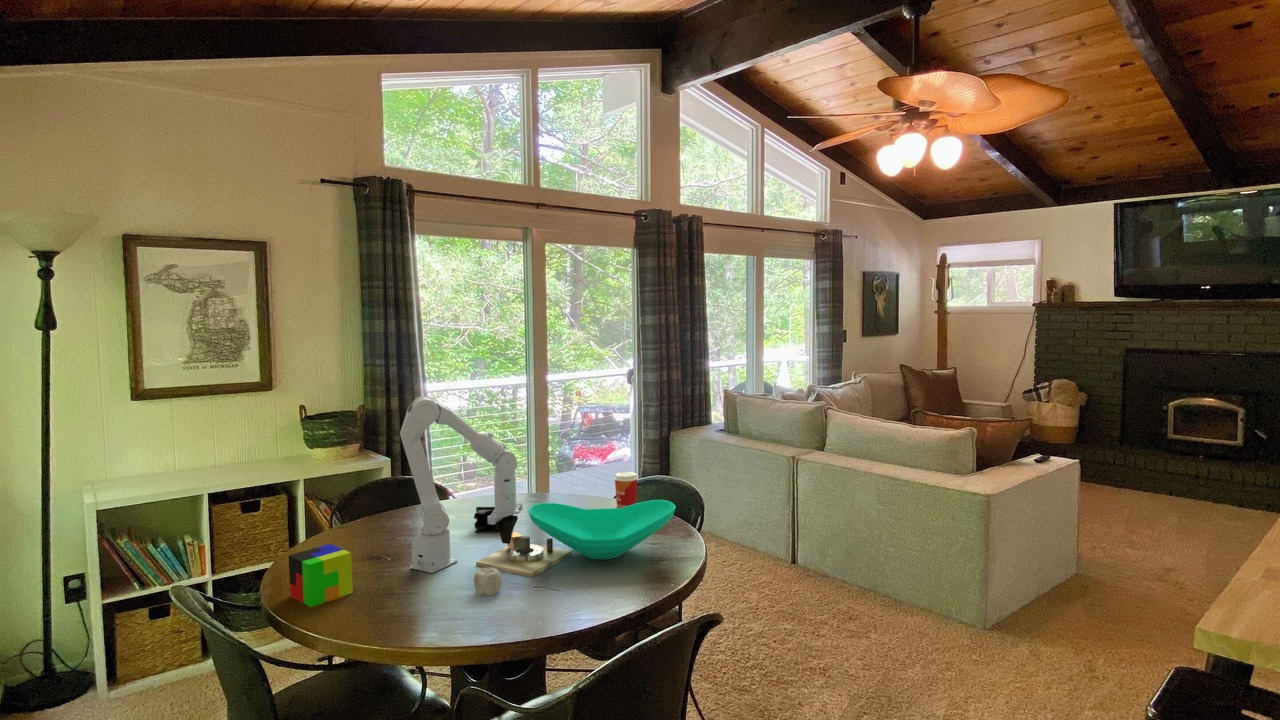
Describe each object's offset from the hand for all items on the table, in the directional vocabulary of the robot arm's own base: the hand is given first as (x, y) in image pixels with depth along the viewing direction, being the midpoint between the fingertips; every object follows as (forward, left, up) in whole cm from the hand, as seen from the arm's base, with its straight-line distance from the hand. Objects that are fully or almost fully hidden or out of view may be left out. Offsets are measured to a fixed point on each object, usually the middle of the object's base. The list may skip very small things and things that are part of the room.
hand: (506, 543), depth 192 cm
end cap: (+16, +18, -4) cm, 24 cm away
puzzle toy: (-41, +22, -4) cm, 47 cm away
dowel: (+5, -11, -3) cm, 12 cm away
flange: (0, -5, -2) cm, 6 cm away
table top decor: (+11, -24, -3) cm, 27 cm away
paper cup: (+44, -13, -3) cm, 46 cm away
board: (-1, -7, -3) cm, 8 cm away
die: (-22, -12, -4) cm, 25 cm away
